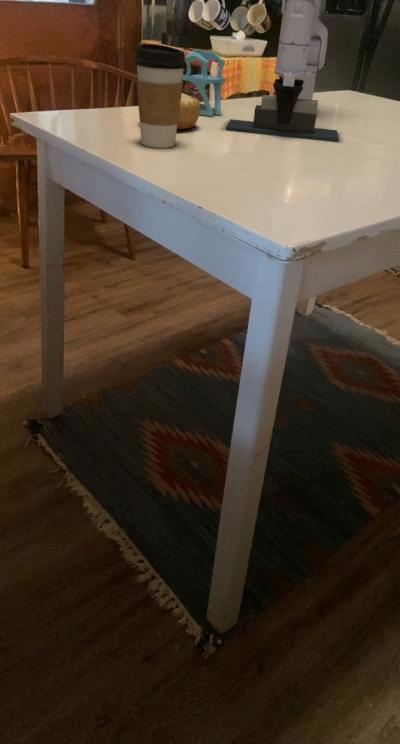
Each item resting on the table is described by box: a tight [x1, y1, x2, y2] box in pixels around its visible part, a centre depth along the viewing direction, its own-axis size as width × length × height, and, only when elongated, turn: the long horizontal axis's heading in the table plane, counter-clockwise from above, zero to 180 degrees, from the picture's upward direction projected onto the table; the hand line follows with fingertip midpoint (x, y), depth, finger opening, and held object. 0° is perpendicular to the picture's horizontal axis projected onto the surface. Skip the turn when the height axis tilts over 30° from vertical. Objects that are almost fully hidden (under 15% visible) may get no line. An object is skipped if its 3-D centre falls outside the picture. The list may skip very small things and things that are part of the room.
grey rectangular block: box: [252, 94, 319, 134], centre depth 119 cm, size 12×4×6 cm, turn 81°
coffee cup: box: [134, 43, 187, 149], centre depth 101 cm, size 8×8×15 cm
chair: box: [182, 48, 226, 117], centre depth 129 cm, size 8×8×12 cm
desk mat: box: [225, 118, 340, 143], centre depth 121 cm, size 8×22×1 cm, turn 81°
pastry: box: [177, 92, 201, 130], centre depth 116 cm, size 12×12×9 cm
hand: (283, 121), depth 120 cm, fingers closed on grey rectangular block, 4 cm apart
